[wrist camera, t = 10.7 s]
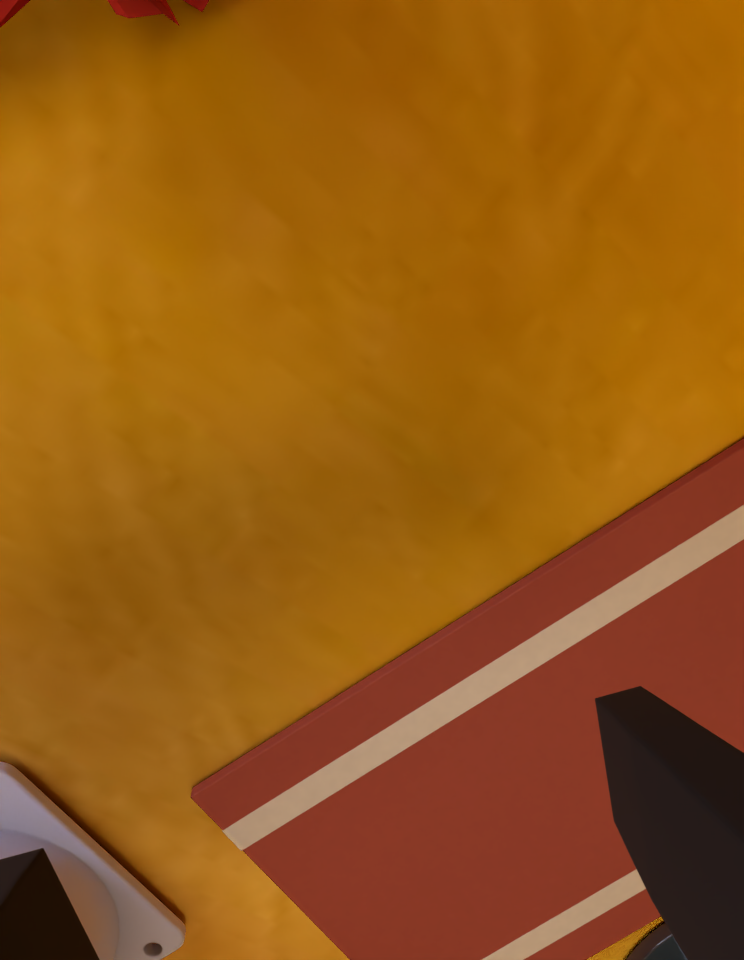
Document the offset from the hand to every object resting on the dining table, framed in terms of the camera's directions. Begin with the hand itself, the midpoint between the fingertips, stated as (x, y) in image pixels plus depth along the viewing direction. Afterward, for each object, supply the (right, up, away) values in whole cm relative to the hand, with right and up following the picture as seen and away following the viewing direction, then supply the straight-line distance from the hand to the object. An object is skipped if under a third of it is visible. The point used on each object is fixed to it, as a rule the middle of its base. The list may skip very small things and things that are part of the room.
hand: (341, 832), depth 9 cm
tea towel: (+6, -4, +12) cm, 14 cm away
